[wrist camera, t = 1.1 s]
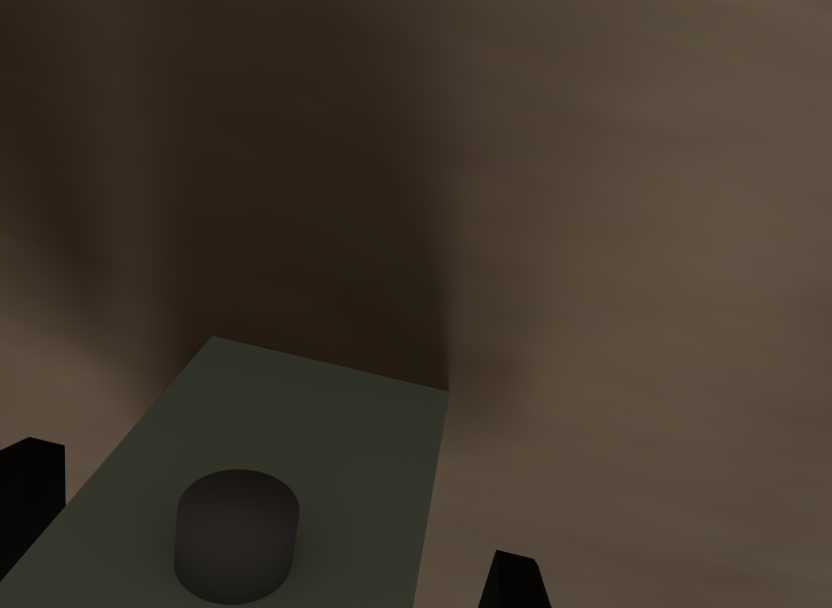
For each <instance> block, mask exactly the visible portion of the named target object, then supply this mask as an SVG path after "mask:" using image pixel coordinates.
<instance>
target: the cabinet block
mask: <svg viewBox="0 0 832 608" xmlns="http://www.w3.org/2000/svg"><path fill="white" fill-rule="evenodd" d="M448 397H449V392H448V391H444V390H440V389H436V388H431V387H427V386H423V385H419V384H415V383H410V382H406V381H402V380H398V379H393V378H389V377H385V376H381V375H376V374H372V373H368V372H364V371H359V370H355V369H351V368H347V367H343V366H338V365H334V364H330V363H326V362H321V361H317V360H313V359H309V358H304V357H300V356H296V355H292V354H288V353H283V352H279V351H275V350H271V349H266V348H262V347H258V346H254V345H249V344H245V343H241V342H237V341H233V340H228V339H224V338H220V337H216V336H212V337H211V338H210V339H209V340H208V341H207V342H206V344H205V345H204V346H203V347H202V348H201V349H200V350H199V352H198V353H197V354H196V355H195V356H194V357H193V359H192V360H191V361H190V362H189V363H188V364H187V366H186V367H185V368H184V369H183V370H182V371H181V373H180V374H179V375H178V376H177V377H176V378H175V380H174V381H173V382H172V383H171V384H170V385H169V387H168V388H167V389H166V390H165V391H164V392H163V394H162V395H161V396H160V397H159V398H158V399H157V400H156V402H155V403H154V404H153V405H152V406H151V407H150V409H149V410H148V411H147V412H146V413H145V414H144V416H143V417H142V418H141V419H140V420H139V421H138V423H137V424H136V425H135V426H134V427H133V428H132V430H131V431H130V432H129V433H128V434H127V435H126V437H125V438H124V439H123V440H122V441H121V442H120V443H119V445H118V446H117V447H116V448H115V449H114V450H113V452H112V453H111V454H110V455H109V456H108V457H107V459H106V460H105V461H104V462H103V463H102V464H101V466H100V467H99V468H98V469H97V470H96V471H95V473H94V474H93V475H92V476H91V477H90V478H89V480H88V481H87V482H86V483H85V484H84V485H83V486H82V488H81V489H80V490H79V491H78V492H77V493H76V495H75V496H74V497H73V498H72V499H71V500H70V502H69V503H68V504H67V505H66V506H65V507H64V509H63V510H62V511H61V512H60V513H59V514H58V516H57V517H56V518H55V519H54V520H53V521H52V523H51V524H50V525H49V526H48V527H47V528H46V530H45V531H44V532H43V533H42V534H41V535H40V536H39V538H38V539H37V540H36V541H35V542H34V543H33V545H32V546H31V547H30V548H29V549H28V550H27V552H26V553H25V554H24V555H23V556H22V557H21V559H20V560H19V561H18V562H17V563H16V564H15V566H14V567H13V568H12V569H11V570H10V571H9V573H8V574H7V575H6V576H5V577H4V578H3V579H2V581H1V582H0V608H413V603H414V597H415V591H416V586H417V580H418V574H419V568H420V562H421V556H422V550H423V544H424V538H425V533H426V527H427V521H428V515H429V509H430V503H431V497H432V491H433V485H434V480H435V474H436V468H437V462H438V456H439V450H440V444H441V438H442V432H443V427H444V421H445V415H446V409H447V403H448Z"/></svg>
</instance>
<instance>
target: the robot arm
mask: <svg viewBox="0 0 832 608" xmlns="http://www.w3.org/2000/svg"><path fill="white" fill-rule="evenodd" d="M65 506H66V497H65V445H61V444H56V443H52V442H48V441H44V440H40V439H36V438H32V437H28V438H26V439H24V440H21V441H19V442H17V443H15V444H13V445H11V446H9V447H7V448H5V449H3V450H0V582H1V581H2V579H3V578H4V577H5V576H6V575H7V574H8V573H9V571H10V570H11V569H12V568H13V567H14V566H15V564H16V563H17V562H18V561H19V560H20V559H21V557H22V556H23V555H24V554H25V553H26V552H27V550H28V549H29V548H30V547H31V546H32V545H33V543H34V542H35V541H36V540H37V539H38V538H39V536H40V535H41V534H42V533H43V532H44V531H45V530H46V528H47V527H48V526H49V525H50V524H51V523H52V521H53V520H54V519H55V518H56V517H57V516H58V514H59V513H60V512H61V511H62V510H63V509H64V507H65ZM478 608H552V607H551V604H550V602H549V599H548V596H547V593H546V590H545V586H544V583H543V580H542V577H541V573H540V570H539V566H538V565H537V563H536V562H535V560H534V559H532V558H528V557H524V556H520V555H516V554H512V553H507V552H503V551H499V550H496V552H495V555H494V558H493V562H492V565H491V568H490V571H489V574H488V577H487V581H486V584H485V587H484V590H483V593H482V597H481V600H480V603H479V606H478Z"/></svg>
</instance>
